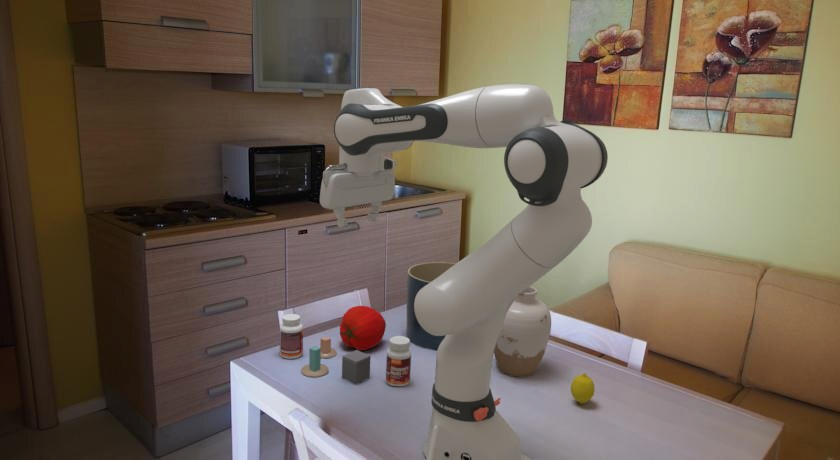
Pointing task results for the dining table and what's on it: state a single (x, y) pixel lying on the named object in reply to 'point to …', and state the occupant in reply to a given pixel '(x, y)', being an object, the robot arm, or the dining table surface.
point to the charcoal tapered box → (356, 366)
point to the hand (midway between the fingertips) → (357, 223)
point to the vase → (523, 335)
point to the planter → (415, 282)
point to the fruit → (582, 388)
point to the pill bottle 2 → (398, 361)
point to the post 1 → (314, 364)
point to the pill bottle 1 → (291, 337)
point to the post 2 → (327, 348)
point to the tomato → (362, 327)
